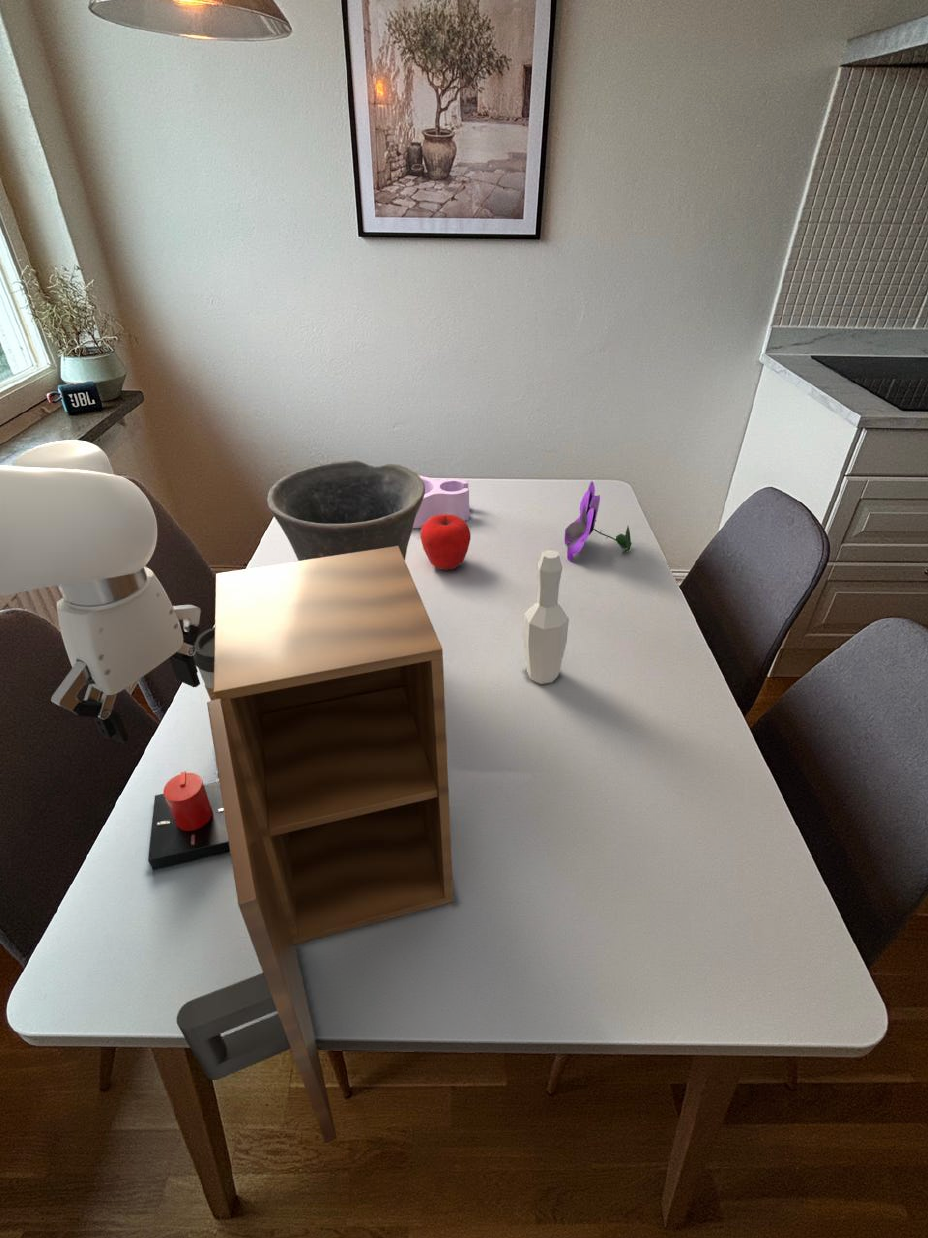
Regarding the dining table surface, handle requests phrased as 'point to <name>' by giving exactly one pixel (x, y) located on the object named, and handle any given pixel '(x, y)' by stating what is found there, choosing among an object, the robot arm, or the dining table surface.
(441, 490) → the purple cup holder
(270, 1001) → the cupboard door
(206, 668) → the coffee cup
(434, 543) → the apple
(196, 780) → the valve knob
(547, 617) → the faceted bottle
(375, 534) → the vase
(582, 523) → the flower
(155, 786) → the dining table surface
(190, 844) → the valve panel
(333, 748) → the cupboard
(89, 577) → the robot arm
